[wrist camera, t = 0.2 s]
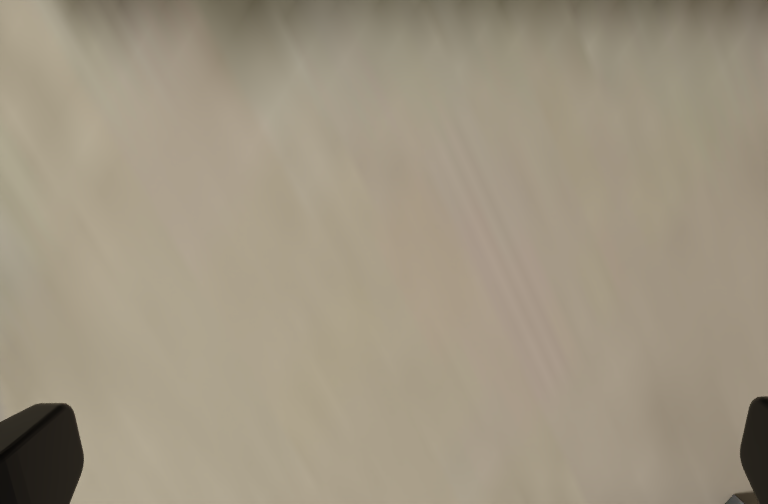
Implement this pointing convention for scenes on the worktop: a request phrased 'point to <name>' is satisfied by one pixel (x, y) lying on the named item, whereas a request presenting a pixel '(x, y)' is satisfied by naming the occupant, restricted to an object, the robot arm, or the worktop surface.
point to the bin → (734, 500)
